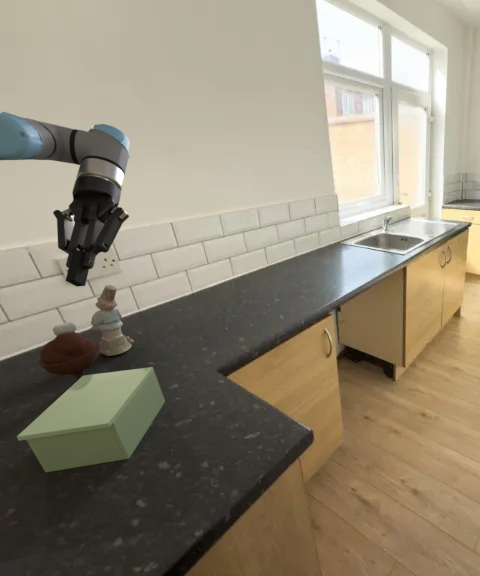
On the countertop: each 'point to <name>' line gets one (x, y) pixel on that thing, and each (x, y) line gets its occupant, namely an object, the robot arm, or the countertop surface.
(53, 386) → the countertop surface
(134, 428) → the chest
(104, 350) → the figurine
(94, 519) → the countertop surface
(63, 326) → the salt shaker
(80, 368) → the ice cream bowl
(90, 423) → the chest lid
